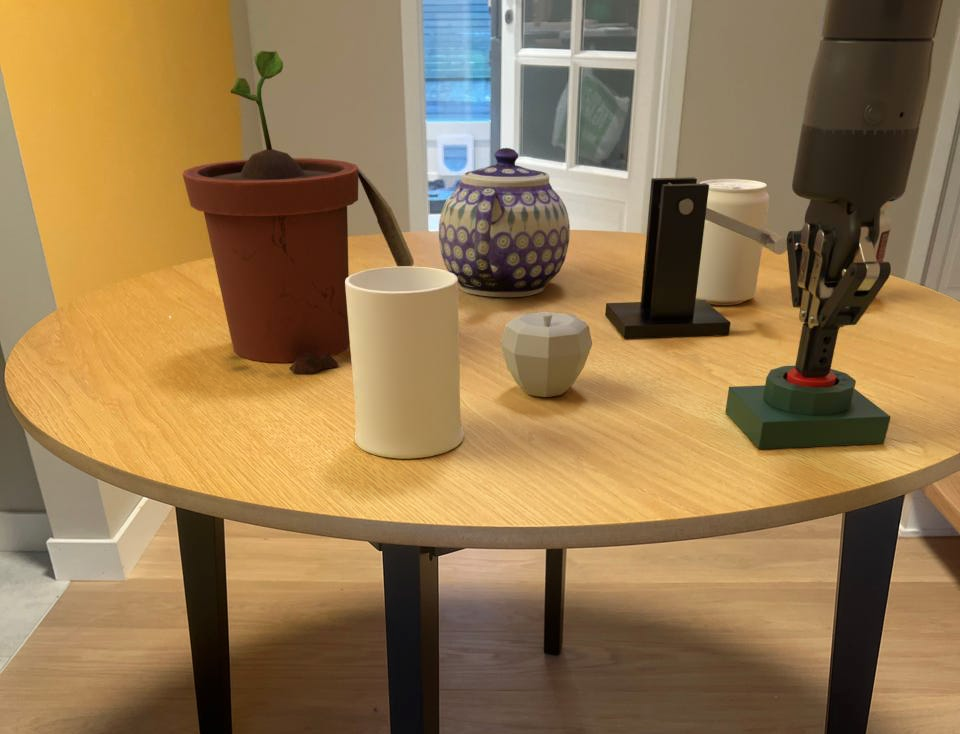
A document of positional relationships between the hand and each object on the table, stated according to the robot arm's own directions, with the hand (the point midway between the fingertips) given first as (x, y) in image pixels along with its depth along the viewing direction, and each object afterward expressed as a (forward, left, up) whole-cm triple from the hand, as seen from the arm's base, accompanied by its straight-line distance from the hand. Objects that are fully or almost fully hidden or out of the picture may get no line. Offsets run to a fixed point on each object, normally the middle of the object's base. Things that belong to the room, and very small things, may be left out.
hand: (811, 373), depth 73 cm
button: (0, 0, -2) cm, 2 cm away
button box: (0, 0, -4) cm, 4 cm away
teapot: (+18, -48, -5) cm, 51 cm away
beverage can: (-6, -40, -5) cm, 41 cm away
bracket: (+3, -30, -4) cm, 30 cm away
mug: (+31, -3, -5) cm, 31 cm away
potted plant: (+39, -27, -5) cm, 48 cm away
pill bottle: (-21, -39, -5) cm, 45 cm away
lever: (-2, -30, +5) cm, 30 cm away
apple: (+19, -11, -5) cm, 22 cm away
